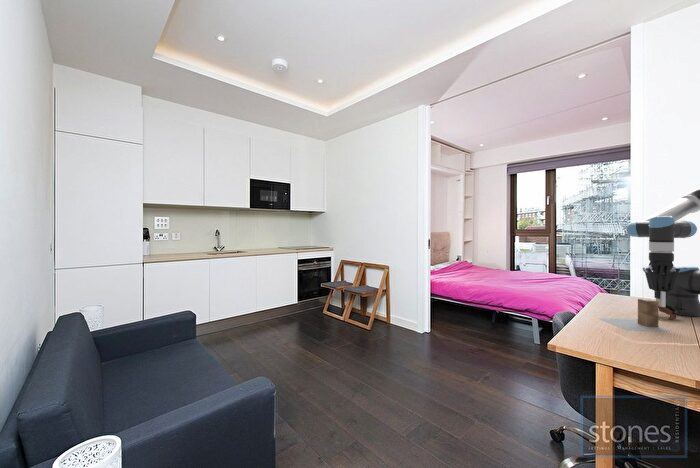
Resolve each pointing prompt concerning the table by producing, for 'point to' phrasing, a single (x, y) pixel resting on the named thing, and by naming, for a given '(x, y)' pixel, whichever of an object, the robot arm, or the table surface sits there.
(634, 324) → the mat
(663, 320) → the table surface
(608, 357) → the table surface
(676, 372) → the table surface
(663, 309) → the brown curved arch
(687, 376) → the table surface
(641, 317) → the walnut block
